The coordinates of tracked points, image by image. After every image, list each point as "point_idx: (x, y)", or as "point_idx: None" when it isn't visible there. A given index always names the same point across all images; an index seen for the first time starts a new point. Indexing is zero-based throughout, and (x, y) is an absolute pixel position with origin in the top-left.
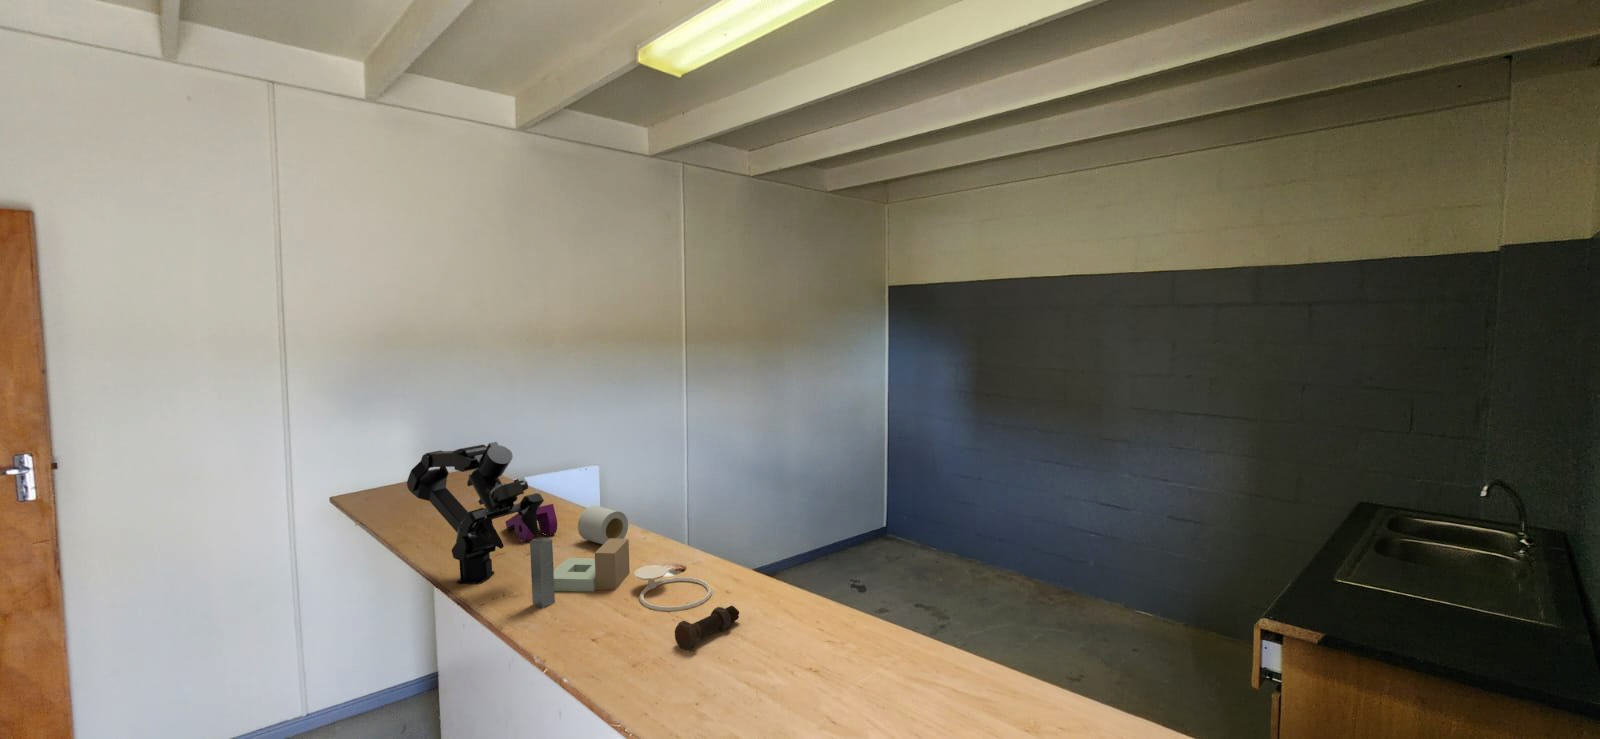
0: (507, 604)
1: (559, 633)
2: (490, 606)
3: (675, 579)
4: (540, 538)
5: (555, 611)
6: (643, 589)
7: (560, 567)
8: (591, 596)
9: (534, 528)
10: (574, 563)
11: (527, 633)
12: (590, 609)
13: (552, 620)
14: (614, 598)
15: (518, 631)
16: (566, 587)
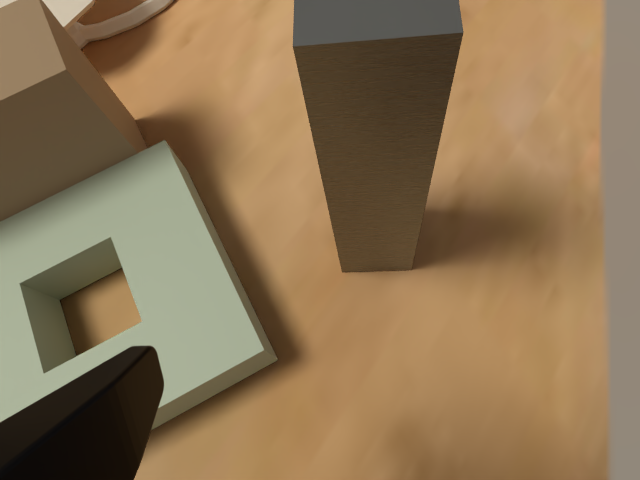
0: (484, 382)
1: (483, 9)
2: (557, 442)
3: None
4: (334, 29)
5: None
6: (116, 19)
7: None
8: (224, 142)
9: (108, 397)
10: (30, 389)
11: (560, 82)
12: None
13: None
14: (199, 69)
15: (578, 117)
16: (228, 260)
